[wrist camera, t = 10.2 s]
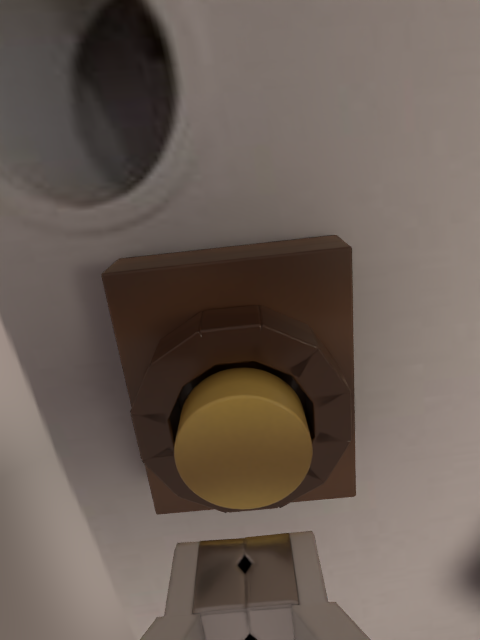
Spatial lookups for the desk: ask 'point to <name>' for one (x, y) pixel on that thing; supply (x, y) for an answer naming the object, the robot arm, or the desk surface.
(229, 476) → the button
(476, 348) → the desk surface
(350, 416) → the button block
